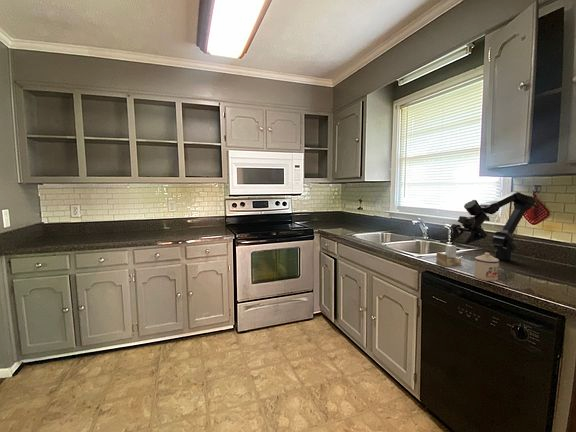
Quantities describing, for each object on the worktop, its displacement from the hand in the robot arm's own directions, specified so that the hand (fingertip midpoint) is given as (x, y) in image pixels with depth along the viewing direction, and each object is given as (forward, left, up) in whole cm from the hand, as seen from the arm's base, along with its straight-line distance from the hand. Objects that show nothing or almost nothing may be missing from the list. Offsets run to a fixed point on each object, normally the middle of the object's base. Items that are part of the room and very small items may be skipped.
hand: (458, 242), depth 150 cm
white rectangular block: (+3, +3, -12) cm, 12 cm away
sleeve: (+3, +4, -12) cm, 13 cm away
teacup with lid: (-14, +20, -12) cm, 28 cm away
